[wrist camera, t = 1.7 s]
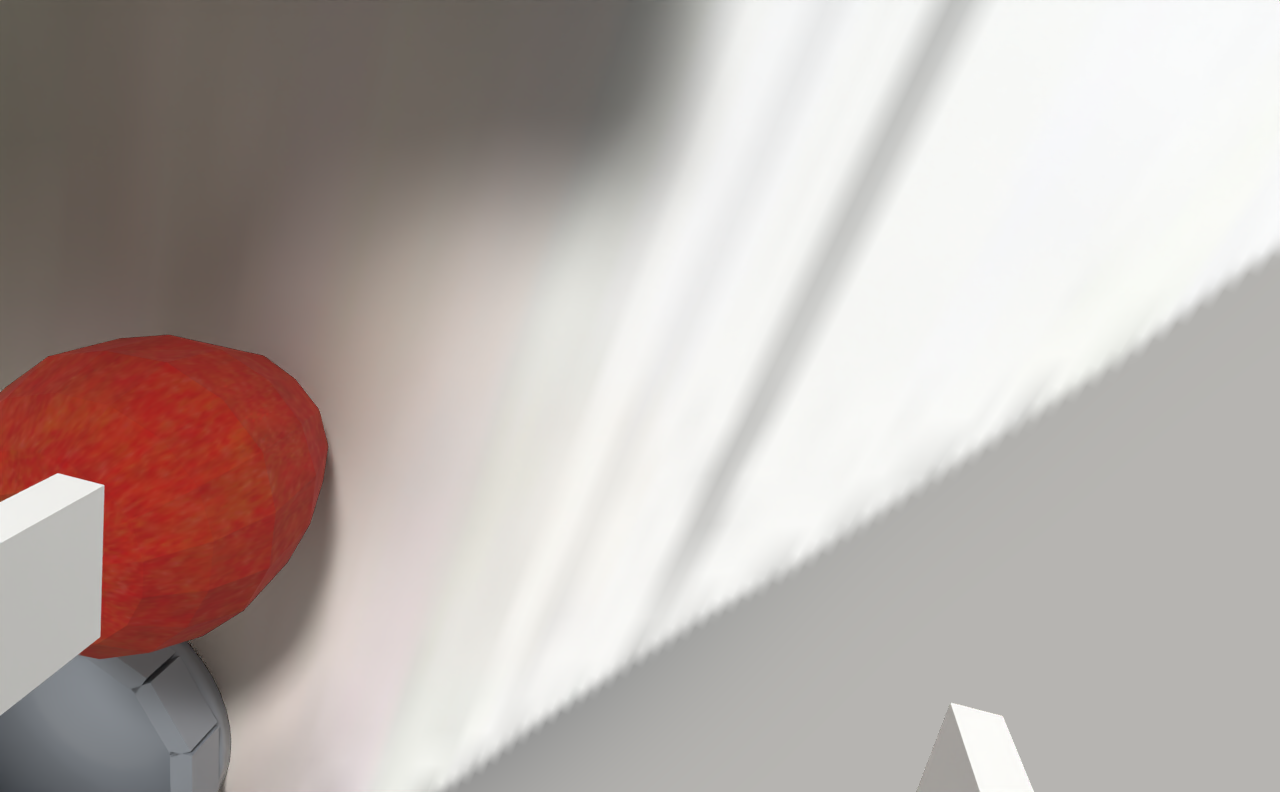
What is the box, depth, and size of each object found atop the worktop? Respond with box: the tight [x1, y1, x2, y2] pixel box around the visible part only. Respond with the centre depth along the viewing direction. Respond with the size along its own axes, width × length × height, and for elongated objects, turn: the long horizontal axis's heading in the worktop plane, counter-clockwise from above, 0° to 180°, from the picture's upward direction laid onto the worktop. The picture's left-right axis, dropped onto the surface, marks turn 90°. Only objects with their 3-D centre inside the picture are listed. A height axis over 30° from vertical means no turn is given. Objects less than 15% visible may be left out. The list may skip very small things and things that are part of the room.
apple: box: [0, 335, 328, 659], centre depth 30 cm, size 10×10×14 cm
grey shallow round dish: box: [0, 641, 231, 792], centre depth 41 cm, size 14×14×3 cm
